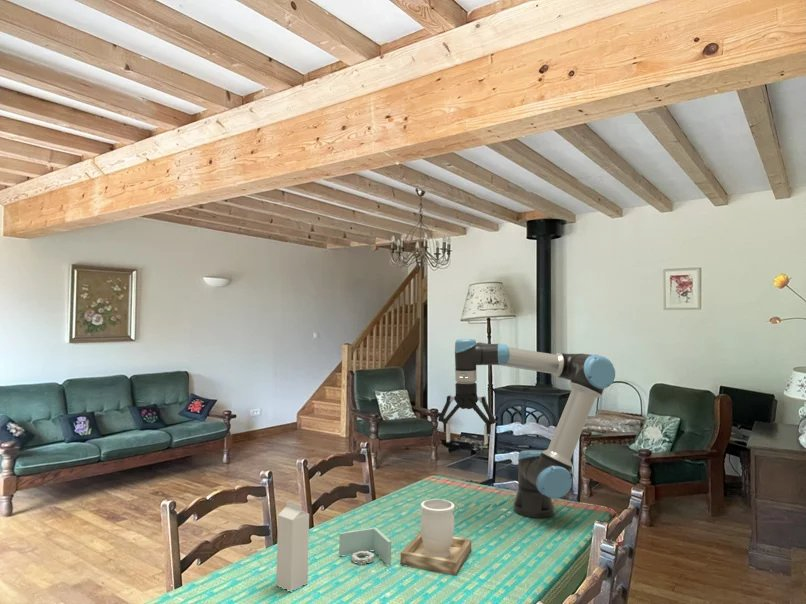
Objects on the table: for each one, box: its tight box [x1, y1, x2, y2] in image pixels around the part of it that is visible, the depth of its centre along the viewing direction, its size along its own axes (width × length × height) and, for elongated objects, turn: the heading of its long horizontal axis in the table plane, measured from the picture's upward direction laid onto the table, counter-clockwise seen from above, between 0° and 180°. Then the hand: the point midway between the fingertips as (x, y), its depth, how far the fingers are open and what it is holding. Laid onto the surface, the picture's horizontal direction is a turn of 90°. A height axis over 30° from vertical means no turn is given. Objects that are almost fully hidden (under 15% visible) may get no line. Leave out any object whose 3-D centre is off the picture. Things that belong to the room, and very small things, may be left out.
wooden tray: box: [400, 530, 472, 576], centre depth 161 cm, size 17×18×4 cm
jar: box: [420, 498, 455, 558], centre depth 162 cm, size 11×10×15 cm
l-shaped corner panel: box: [338, 526, 392, 566], centre depth 159 cm, size 12×12×8 cm
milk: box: [275, 500, 310, 591], centre depth 143 cm, size 6×6×22 cm
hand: (467, 442), depth 187 cm, fingers open, 13 cm apart
